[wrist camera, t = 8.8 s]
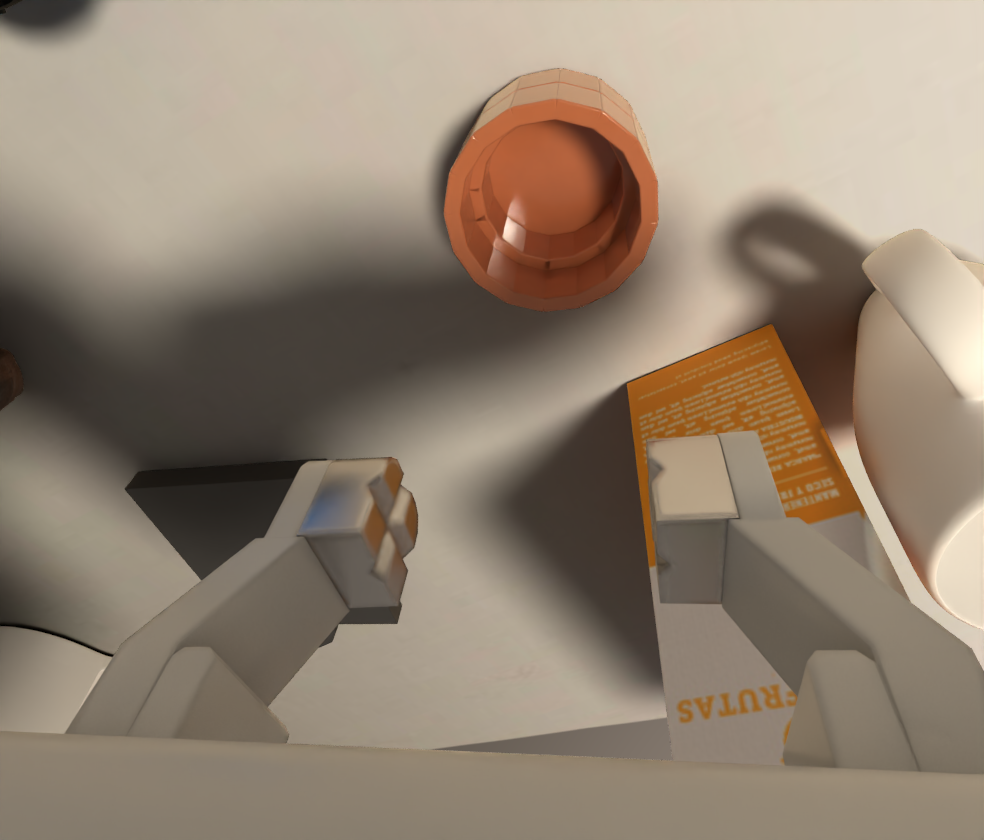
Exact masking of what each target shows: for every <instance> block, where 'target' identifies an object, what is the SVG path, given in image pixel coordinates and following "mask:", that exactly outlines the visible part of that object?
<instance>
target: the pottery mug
mask: <svg viewBox="0 0 984 840" xmlns="http://www.w3.org/2000/svg"><path fill="white" fill-rule="evenodd" d="M23 385H24V383H23V378H22V373H21V371H20V368H19V366H18V364H17V363H16V361H15V359H14V357H13V355H12V354H11V352H9V351H8V350H6V349H3V348H0V411H1V410H2V409H3V408H4V407H6V406H7V405H8V404H9V403H10V402H12V401H13V400H14V399H15V397H17V396H19V395H20V394H21V393H22V391H23Z"/></svg>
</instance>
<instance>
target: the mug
mask: <svg viewBox="0 0 984 840" xmlns="http://www.w3.org/2000/svg"><path fill="white" fill-rule="evenodd" d="M862 269H863V271H864V272H865V274H866V275H867V277H868V278H869V280H870V281H871V283H872V284H873V285H874V287H875V288H876V290H875V291H874V292H873V293H872V295H871V296H870V297H869V298H868V300H867V301H866V303H865V305H864V307H863V309H862V311H861V314H860V318H859V323H858V335H857V348H856V361H855V374H854V388H853V420H854V429H855V436H856V441H857V445H858V449H859V453H860V456H861V459H862V462H863V465H864V468H865V470H866V473H867V475H868V477H869V480H870V482H871V484H872V486H873V488H874V490H875V492H876V495H877V497H878V499H879V501H880V503H881V505H882V507H883V509H884V511H885V512H886V514H887V516H888V518H889V520H890V522H891V524H892V526H893V528H894V530H895V532H896V534H897V536H898V538H899V540H900V542H901V544H902V546H903V548H904V550H905V552H906V554H907V556H908V558H909V560H910V562H911V564H912V566H913V568H914V570H915V572H916V573H917V575H918V577H919V579H920V580H921V582H922V584H923V585H924V587H925V588H926V590H927V591H928V593H929V594H930V595H931V596H932V598H933V599H934V600H935V601H936V602H937V603H938V604H939V605H940V606H941V607H942V608H943V609H944V610H946V611H947V612H948V613H949V614H951V615H952V616H954V617H955V618H957V619H959V620H961V621H963V622H965V623H967V624H969V625H971V626H973V627H976V628H979V629H982V630H984V264H981V263H975V262H969V261H962V260H959V259H958V258H957V257H956V256H955V255H954V254H953V253H952V252H951V251H949V250H948V249H947V248H946V247H945V246H944V245H943V244H942V243H941V242H939V241H938V240H937V239H936V238H935V237H933V236H932V235H931V234H929V233H928V232H926V231H925V230H922V229H913V230H909V231H906V232H904V233H902V234H899V235H897V236H896V237H894V238H892V239H890V240H889V241H887V242H885V243H884V244H882V245H881V246H880V247H878V248H877V249H876V250H874V251H873V252H872V253H871V254H870V255H869V256H868V257H867V258H866V259H865V261H864V262H863V264H862Z"/></svg>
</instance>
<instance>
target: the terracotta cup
mask: <svg viewBox="0 0 984 840" xmlns="http://www.w3.org/2000/svg"><path fill="white" fill-rule="evenodd" d="M444 218H445V222H446V226H447V230H448V234H449V238H450V242H451V246H452V250H453V251H454V254H455V255H456V257H457V258H458V259H459V261H460V262H461V264H462V265H463V266H464V268H465V269H466V270H467V272H468V273H469V275H470V276H471V277H472V279H473V280H474V282H476V283H477V284H478V285H479V286H481V287H483V288H484V289H486V290H487V291H489V292H490V293H492V294H493V295H495V296H496V297H498V298H499V299H501V300H502V301H504V302H505V303H508V304H511V305H515V306H519V307H524V308H528V309H532V310H537V311H541V312H543V311H544V312H548V311H557V310H565V309H574V308H580V307H583V306H585V305H587V304H589V303H591V302H593V301H595V300H597V299H599V298H601V297H603V296H605V295H607V294H609V293H611V292H613V291H615V290H616V289H618V288H619V286H620V285H621V284H622V283H623V282H624V281H625V280H626V279H627V278H628V277H629V276H630V275H631V274H632V273H633V271H634V270H635V269H636V268H637V267H638V266H639V265H640V264H641V263H642V261H643V260H644V258H645V255H646V253H647V250H648V248H649V245H650V243H651V240H652V238H653V235H654V233H655V230H656V227H657V225H658V220H659V218H658V181H657V177H656V173H655V169H654V166H653V162H652V159H651V155H650V152H649V148H648V145H647V141H646V137H645V135H644V133H643V131H642V128H641V126H640V124H639V122H638V120H637V118H636V116H635V114H634V111H633V109H632V107H631V105H630V104H629V103H628V101H627V100H626V99H624V98H623V97H622V96H621V95H620V94H618V93H617V92H616V91H615V90H614V89H612V88H611V87H610V86H609V85H608V84H606V83H605V82H604V81H603V80H602V79H598V78H597V77H595V76H591V75H587V74H583V73H579V72H575V71H571V70H568V69H564V68H563V69H561V70H560V69H559V68H557V69H552V70H547V71H542V72H537V73H532V74H528V75H524V76H522V77H519V78H518V79H516V80H515V81H514V82H512V83H511V84H509V85H508V86H507V87H505V88H504V89H502V90H501V91H500V92H498V93H497V94H496V95H494V96H493V97H491V99H490V100H489V101H488V102H487V104H486V105H485V107H484V109H483V110H482V112H481V114H480V115H479V117H478V119H477V120H476V122H475V124H474V125H473V127H472V129H471V130H470V132H469V134H468V136H467V138H466V140H465V142H464V144H463V146H462V148H461V150H460V152H459V154H458V156H457V158H456V160H455V162H454V163H453V165H452V167H451V169H450V172H449V176H448V183H447V190H446V197H445V204H444Z"/></svg>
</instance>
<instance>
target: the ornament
mask: <svg viewBox="0 0 984 840" xmlns="http://www.w3.org/2000/svg"><path fill="white" fill-rule="evenodd" d="M20 1H22V0H0V14H3V13H6V10H5V8H8V7H10V6H12V5H14V4H16V3H18V2H20Z"/></svg>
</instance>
